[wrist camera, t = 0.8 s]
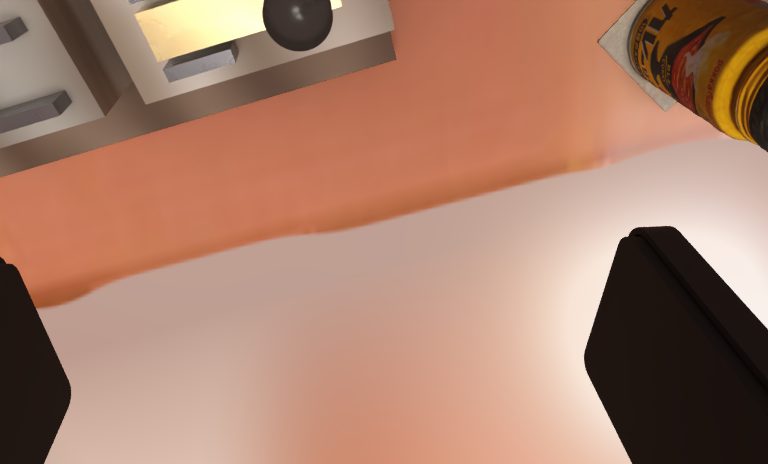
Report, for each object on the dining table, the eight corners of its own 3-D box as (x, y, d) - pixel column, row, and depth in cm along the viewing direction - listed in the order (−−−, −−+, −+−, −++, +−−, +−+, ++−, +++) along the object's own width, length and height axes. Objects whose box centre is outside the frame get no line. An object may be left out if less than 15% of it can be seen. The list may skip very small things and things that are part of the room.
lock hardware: (201, -41, 23) (195, -34, 22) (239, 51, 25) (235, 62, 24) (-111, 57, 24) (-135, 68, 23) (-48, 138, 26) (-67, 153, 25)
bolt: (324, -57, 23) (329, -34, 19) (341, 3, 25) (349, 37, 20) (140, 0, 24) (101, 36, 19) (167, 56, 25) (137, 101, 20)
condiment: (596, 41, 34) (715, 121, 24) (716, -85, 31) (911, -53, 21) (663, 111, 37) (794, 206, 27) (779, 3, 34) (975, 66, 24)
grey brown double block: (329, -203, 26) (335, -216, 21) (392, 51, 33) (410, 91, 27) (-190, -35, 27) (-310, -6, 22) (-25, 176, 34) (-86, 237, 29)
